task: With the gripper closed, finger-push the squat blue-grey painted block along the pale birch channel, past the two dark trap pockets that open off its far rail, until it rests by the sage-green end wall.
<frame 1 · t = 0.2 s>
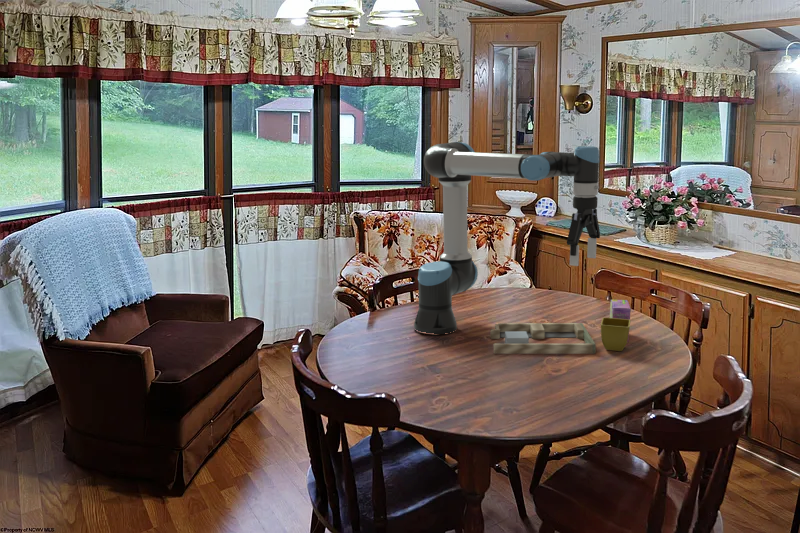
hand: (582, 261, 239), 28 cm above the table, fingers open, 13 cm apart
flower pot: (614, 349, 239), on the table
block: (516, 346, 244), on the table
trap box: (541, 345, 243), on the table
box: (618, 337, 250), on the table
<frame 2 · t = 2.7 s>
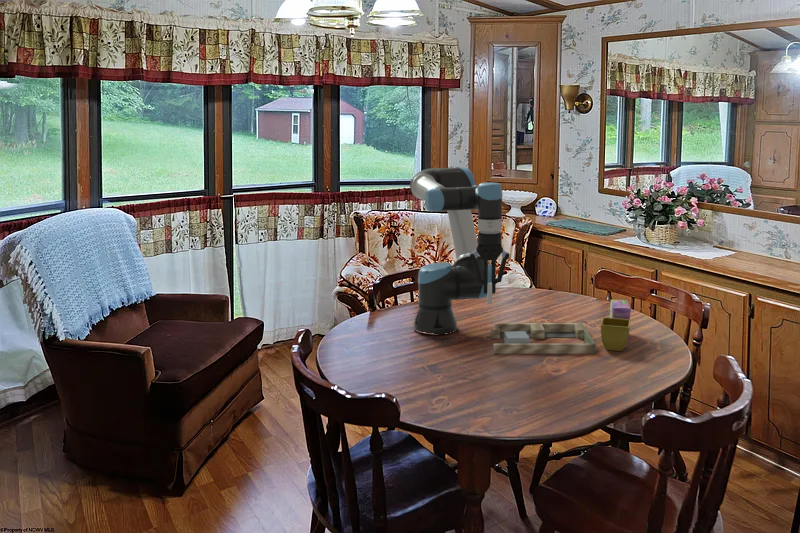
hand: (489, 303, 241), 15 cm above the table, fingers closed
nothing on the table moved.
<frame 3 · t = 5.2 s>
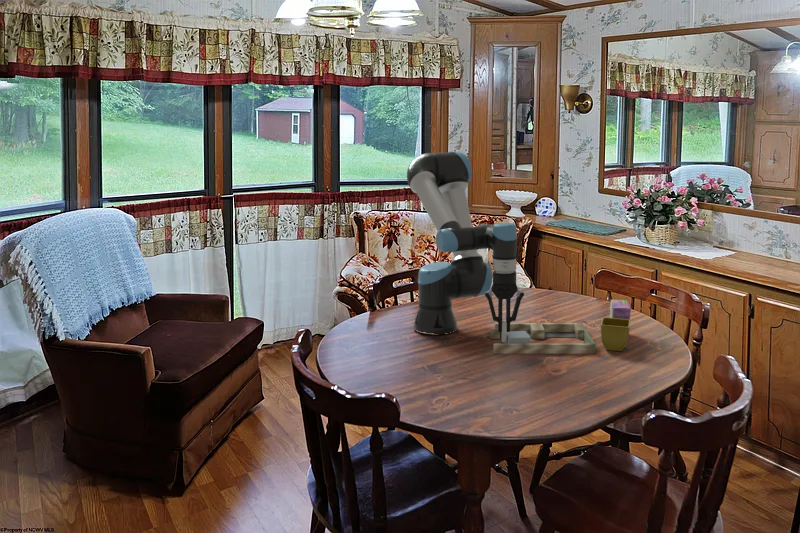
hand: (503, 341, 243), 2 cm above the table, fingers closed
block: (517, 346, 244), on the table, touching gripper
everything else where it was.
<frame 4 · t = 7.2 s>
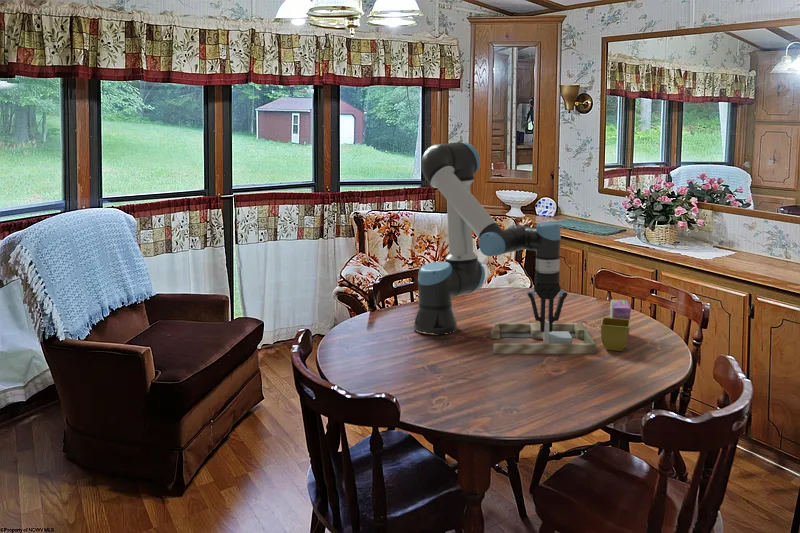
hand: (546, 341, 243), 2 cm above the table, fingers closed
block: (559, 346, 242), on the table
everything else where it was.
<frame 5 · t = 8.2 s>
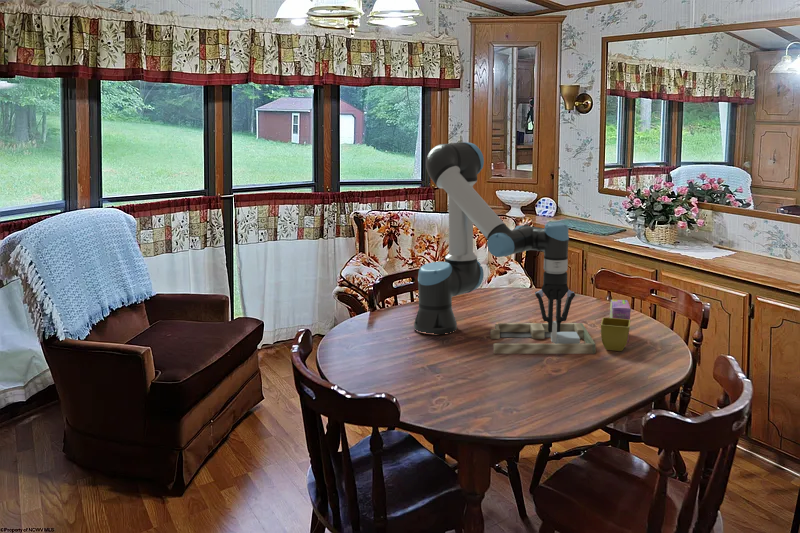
hand: (553, 341, 243), 1 cm above the table, fingers closed
block: (566, 346, 242), on the table
everything else where it was.
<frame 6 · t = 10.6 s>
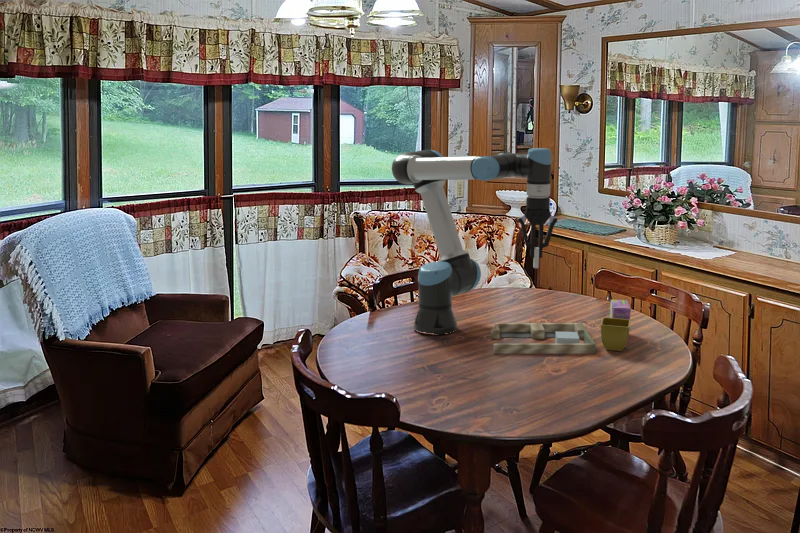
hand: (535, 267, 245), 25 cm above the table, fingers closed
nothing on the table moved.
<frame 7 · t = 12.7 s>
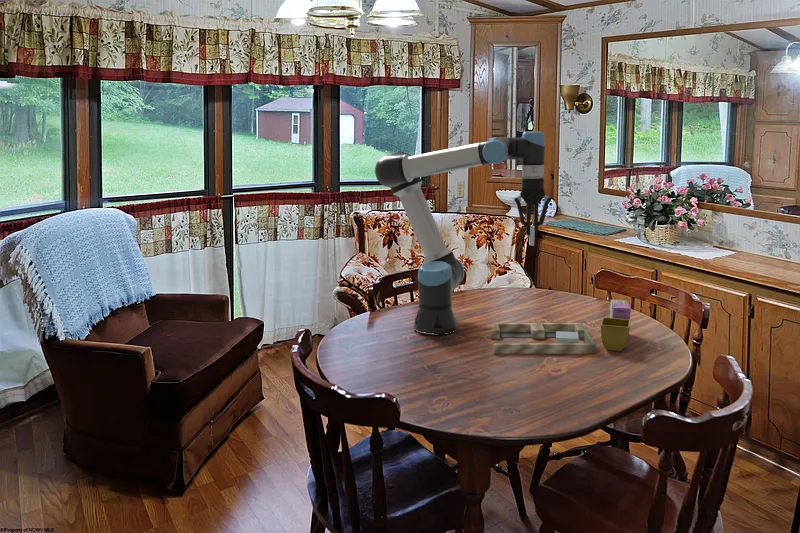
hand: (531, 244, 258), 29 cm above the table, fingers closed
nothing on the table moved.
at the end: block inside the target area (0.6 cm from its centre), on the table; block tilted 0°; block moved 16.3 cm from its start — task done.
